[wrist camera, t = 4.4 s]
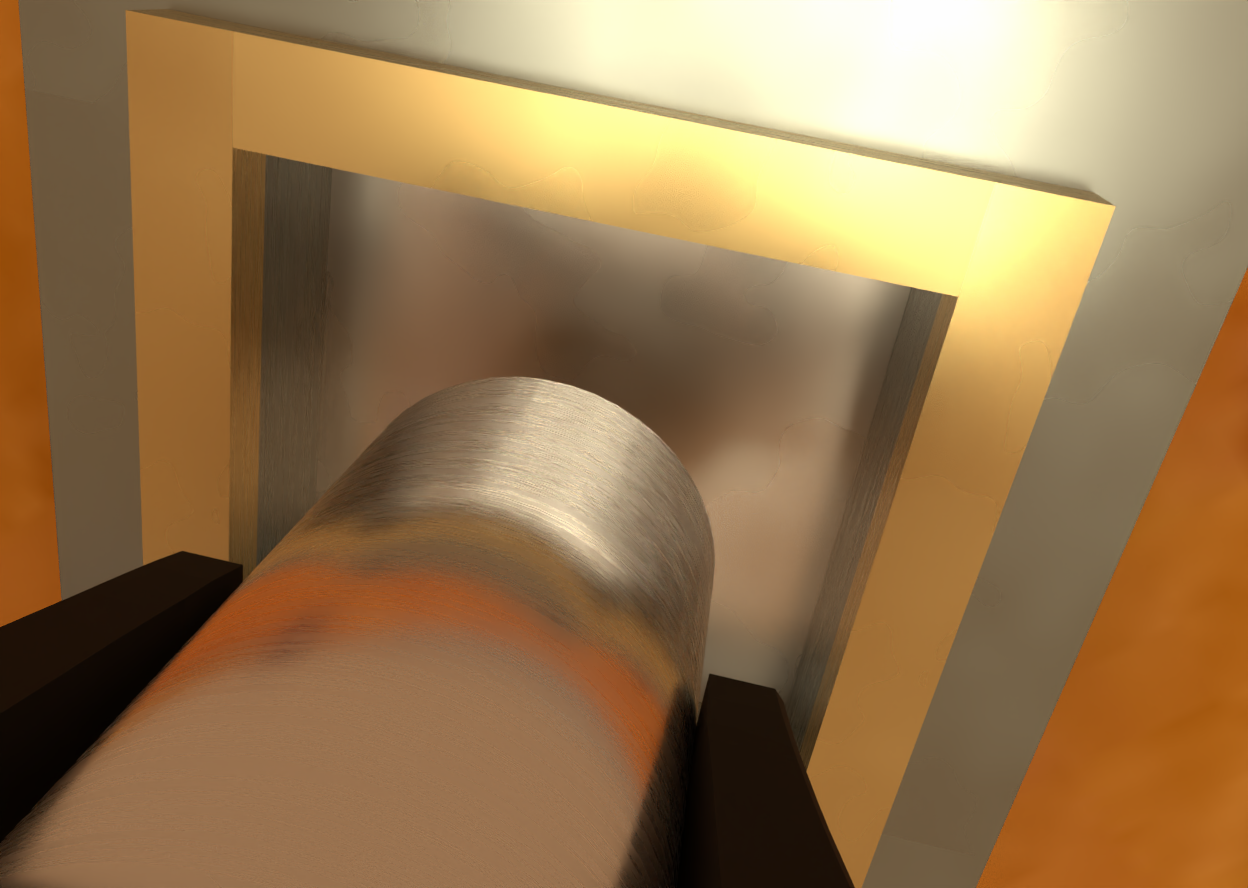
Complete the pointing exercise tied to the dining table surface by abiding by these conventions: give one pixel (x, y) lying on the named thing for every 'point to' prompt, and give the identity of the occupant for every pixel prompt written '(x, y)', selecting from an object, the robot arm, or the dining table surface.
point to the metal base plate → (672, 310)
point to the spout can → (424, 677)
